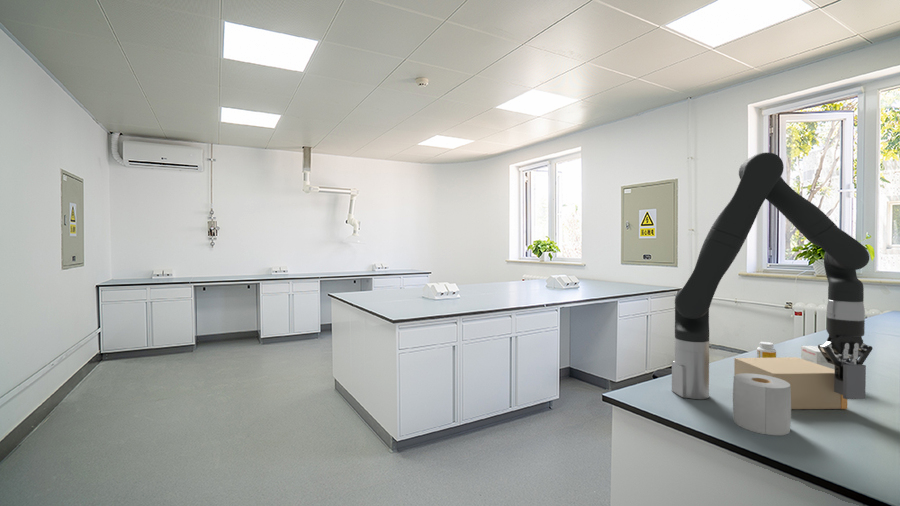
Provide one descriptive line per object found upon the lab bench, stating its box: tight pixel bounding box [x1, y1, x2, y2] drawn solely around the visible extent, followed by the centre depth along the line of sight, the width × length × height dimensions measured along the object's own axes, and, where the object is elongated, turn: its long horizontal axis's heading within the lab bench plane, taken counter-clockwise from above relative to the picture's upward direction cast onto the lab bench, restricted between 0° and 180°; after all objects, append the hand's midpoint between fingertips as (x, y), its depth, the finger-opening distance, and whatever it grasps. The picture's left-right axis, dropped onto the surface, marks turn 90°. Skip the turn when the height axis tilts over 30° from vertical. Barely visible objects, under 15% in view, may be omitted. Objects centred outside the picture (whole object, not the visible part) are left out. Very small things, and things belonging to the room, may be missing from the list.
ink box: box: [800, 345, 841, 370], centre depth 137 cm, size 9×8×12 cm
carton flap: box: [774, 360, 867, 410], centre depth 114 cm, size 20×6×14 cm, turn 90°
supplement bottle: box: [756, 341, 777, 358], centre depth 151 cm, size 6×6×10 cm
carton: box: [733, 356, 835, 377], centre depth 125 cm, size 20×16×10 cm
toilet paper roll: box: [732, 373, 792, 437], centre depth 107 cm, size 12×12×12 cm
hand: (844, 380), depth 114 cm, fingers closed
